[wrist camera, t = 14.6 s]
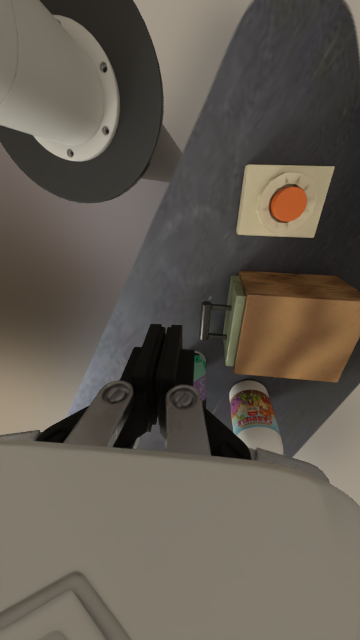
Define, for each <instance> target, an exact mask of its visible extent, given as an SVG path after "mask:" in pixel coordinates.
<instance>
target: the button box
mask: <svg viewBox="0 0 360 640" xmlns="http://www.w3.org/2000/svg"><path fill="white" fill-rule="evenodd" d="M334 168H335V167H334V166H294V165H250V164H248V165H247V166H245V172H244V179H243V186H242V193H241V201H240V208H239V215H238V222H237V230H236V232H237V234H238V235H257V236H279V237H302V238H314V235H315V232H316V228H317V225H318V222H319V218H320V215H321V212H322V208H323V205H324V201H325V198H326V195H327V191H328V188H329V185H330V181H331V178H332V175H333V171H334ZM285 187H299V188H301V189H302V190H303V191H304V192H305V194H306V196H307V205H306V208H305V210H304V212H303V213H302V214H301V216H299V217H298V218H297V219H295V220H293V221H289V222H285V221H281V220H279V219H277V218H275V217H274V216H273V214H272V212H271V201H272V199H273V197H274V195H275V194H276V193H277V192H278V191H279V190H281V189H283V188H285Z"/></svg>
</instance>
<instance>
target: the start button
mask: <svg viewBox="0 0 360 640" xmlns="http://www.w3.org/2000/svg"><path fill="white" fill-rule="evenodd" d="M306 205H307V196H306V194H305V192H304V191H303V190H302V189H301V188H299V187H285V188H283V189H281V190H279V191H278V192H277V193H276V194H275V195H274V197H273V199H272V201H271V212H272V214H273V216H274V217H275V218H277V219H279V220H281V221H285V222H289V221H293V220H295V219H297V218H298V217H299V216H301V214H302V213H303V212H304V210H305V208H306Z"/></svg>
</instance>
